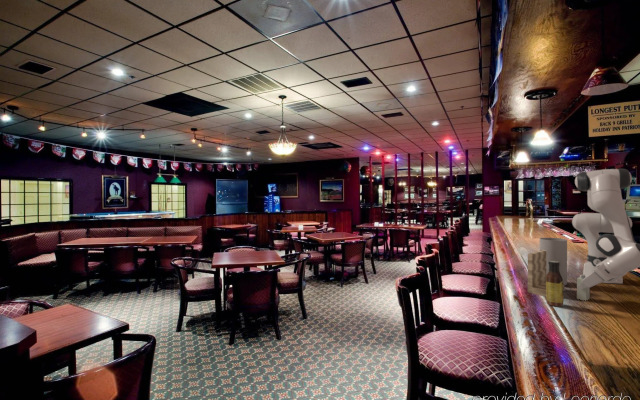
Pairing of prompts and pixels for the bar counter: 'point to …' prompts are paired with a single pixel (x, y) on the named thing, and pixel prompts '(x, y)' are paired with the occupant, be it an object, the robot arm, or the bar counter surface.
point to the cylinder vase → (556, 254)
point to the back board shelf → (537, 272)
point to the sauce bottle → (554, 285)
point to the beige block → (583, 293)
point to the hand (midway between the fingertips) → (581, 287)
